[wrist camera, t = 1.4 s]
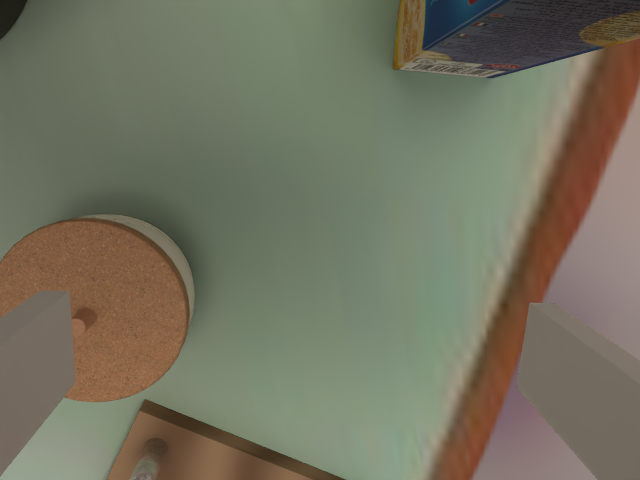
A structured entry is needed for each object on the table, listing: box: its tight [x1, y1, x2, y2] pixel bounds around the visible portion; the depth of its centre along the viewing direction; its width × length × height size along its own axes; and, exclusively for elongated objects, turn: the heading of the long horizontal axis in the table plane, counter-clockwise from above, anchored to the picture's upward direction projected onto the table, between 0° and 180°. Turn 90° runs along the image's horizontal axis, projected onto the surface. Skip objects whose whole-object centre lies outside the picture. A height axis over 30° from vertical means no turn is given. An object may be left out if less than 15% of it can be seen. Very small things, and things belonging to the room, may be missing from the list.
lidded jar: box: [0, 214, 195, 402], centre depth 30 cm, size 11×11×9 cm
